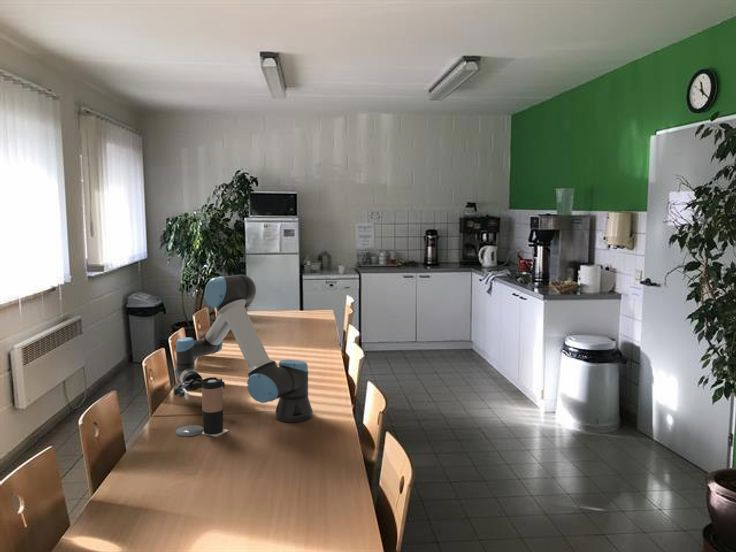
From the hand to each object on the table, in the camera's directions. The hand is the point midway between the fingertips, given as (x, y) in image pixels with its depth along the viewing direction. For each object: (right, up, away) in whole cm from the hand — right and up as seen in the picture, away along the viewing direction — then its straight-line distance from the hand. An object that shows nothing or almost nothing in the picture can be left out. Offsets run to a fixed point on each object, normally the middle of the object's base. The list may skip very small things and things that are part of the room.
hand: (205, 393), depth 231 cm
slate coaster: (-4, -13, -7) cm, 15 cm away
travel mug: (+5, -13, -7) cm, 16 cm away
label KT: (+5, -13, -7) cm, 16 cm away
